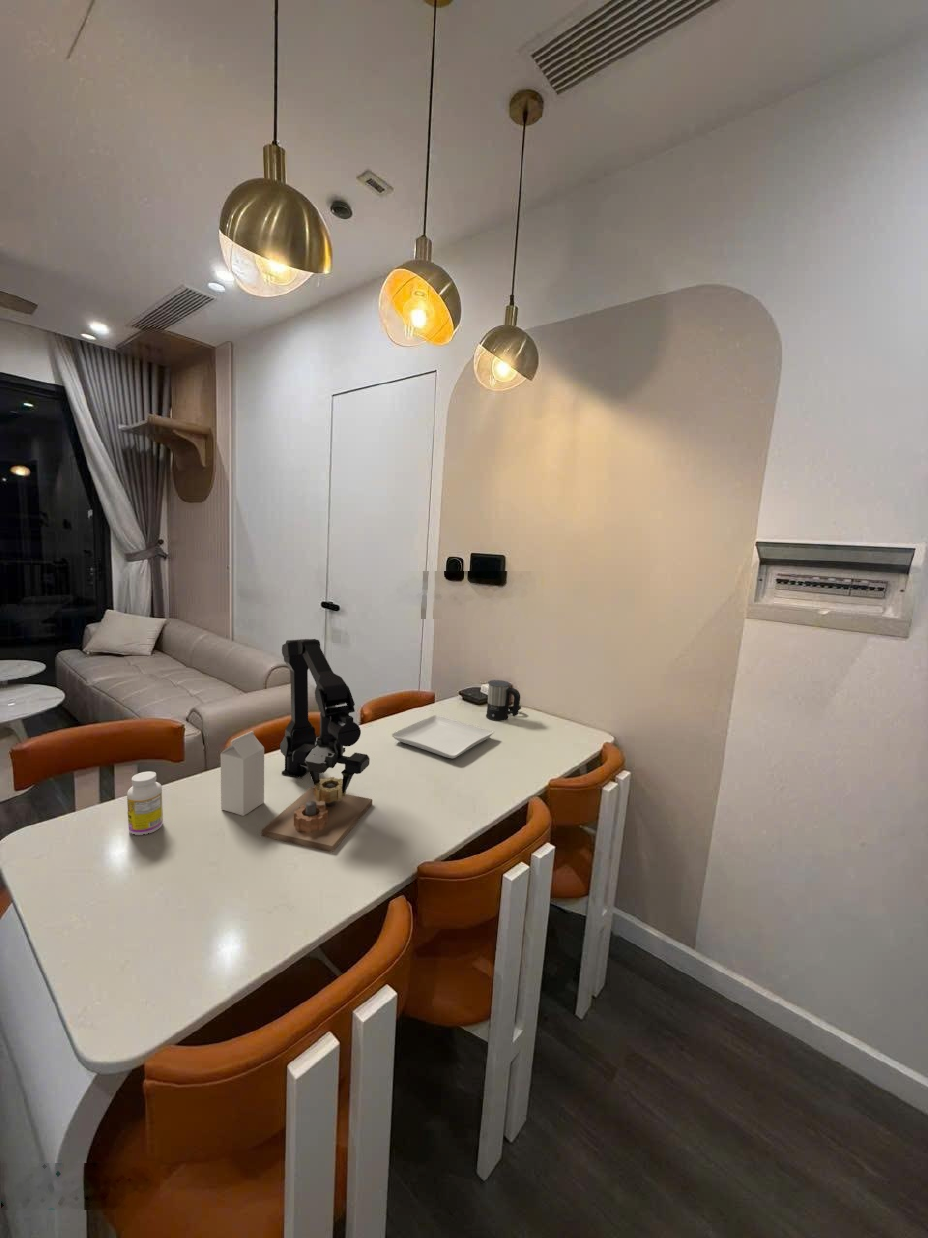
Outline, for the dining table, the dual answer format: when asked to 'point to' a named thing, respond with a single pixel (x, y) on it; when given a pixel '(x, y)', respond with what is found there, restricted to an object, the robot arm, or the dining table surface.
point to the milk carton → (242, 775)
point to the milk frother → (501, 700)
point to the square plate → (442, 736)
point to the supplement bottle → (144, 804)
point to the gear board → (329, 832)
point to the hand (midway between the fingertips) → (330, 789)
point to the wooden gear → (329, 790)
